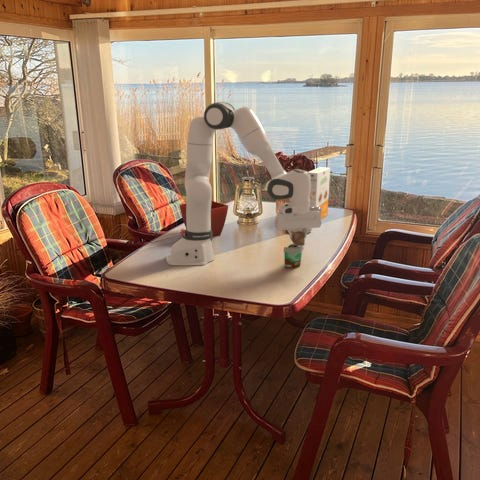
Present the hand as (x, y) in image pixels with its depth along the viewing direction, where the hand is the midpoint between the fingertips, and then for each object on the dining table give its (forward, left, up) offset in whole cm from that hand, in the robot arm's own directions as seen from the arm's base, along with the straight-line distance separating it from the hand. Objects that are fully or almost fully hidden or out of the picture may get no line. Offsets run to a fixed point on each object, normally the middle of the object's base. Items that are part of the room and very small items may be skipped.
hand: (297, 238), depth 208 cm
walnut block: (0, 0, -2) cm, 2 cm away
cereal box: (+39, +74, -13) cm, 85 cm away
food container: (0, 0, -13) cm, 13 cm away
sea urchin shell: (+20, +51, -14) cm, 56 cm away
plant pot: (-33, +55, -13) cm, 65 cm away
